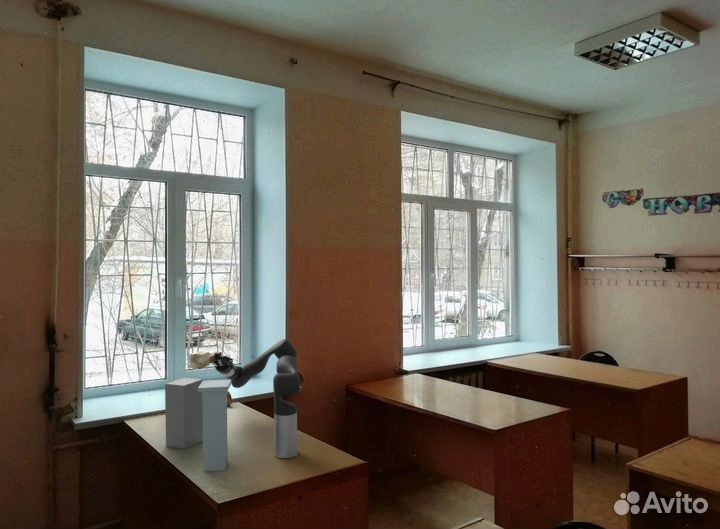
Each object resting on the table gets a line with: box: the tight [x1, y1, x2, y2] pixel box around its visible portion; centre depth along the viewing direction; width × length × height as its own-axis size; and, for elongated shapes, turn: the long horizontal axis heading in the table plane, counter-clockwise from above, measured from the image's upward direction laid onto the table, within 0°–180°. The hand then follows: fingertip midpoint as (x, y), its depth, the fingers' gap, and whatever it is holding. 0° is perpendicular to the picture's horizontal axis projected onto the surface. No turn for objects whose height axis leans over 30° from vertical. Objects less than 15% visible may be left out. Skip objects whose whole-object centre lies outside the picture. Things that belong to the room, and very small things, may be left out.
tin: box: [227, 390, 233, 407], centre depth 290 cm, size 15×3×8 cm, turn 47°
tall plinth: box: [198, 379, 232, 472], centre depth 205 cm, size 11×12×32 cm
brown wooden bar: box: [189, 351, 223, 369], centre depth 235 cm, size 6×22×6 cm, turn 171°
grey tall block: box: [164, 377, 203, 450], centre depth 230 cm, size 12×10×27 cm
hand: (211, 354), depth 239 cm, fingers closed on brown wooden bar, 3 cm apart
